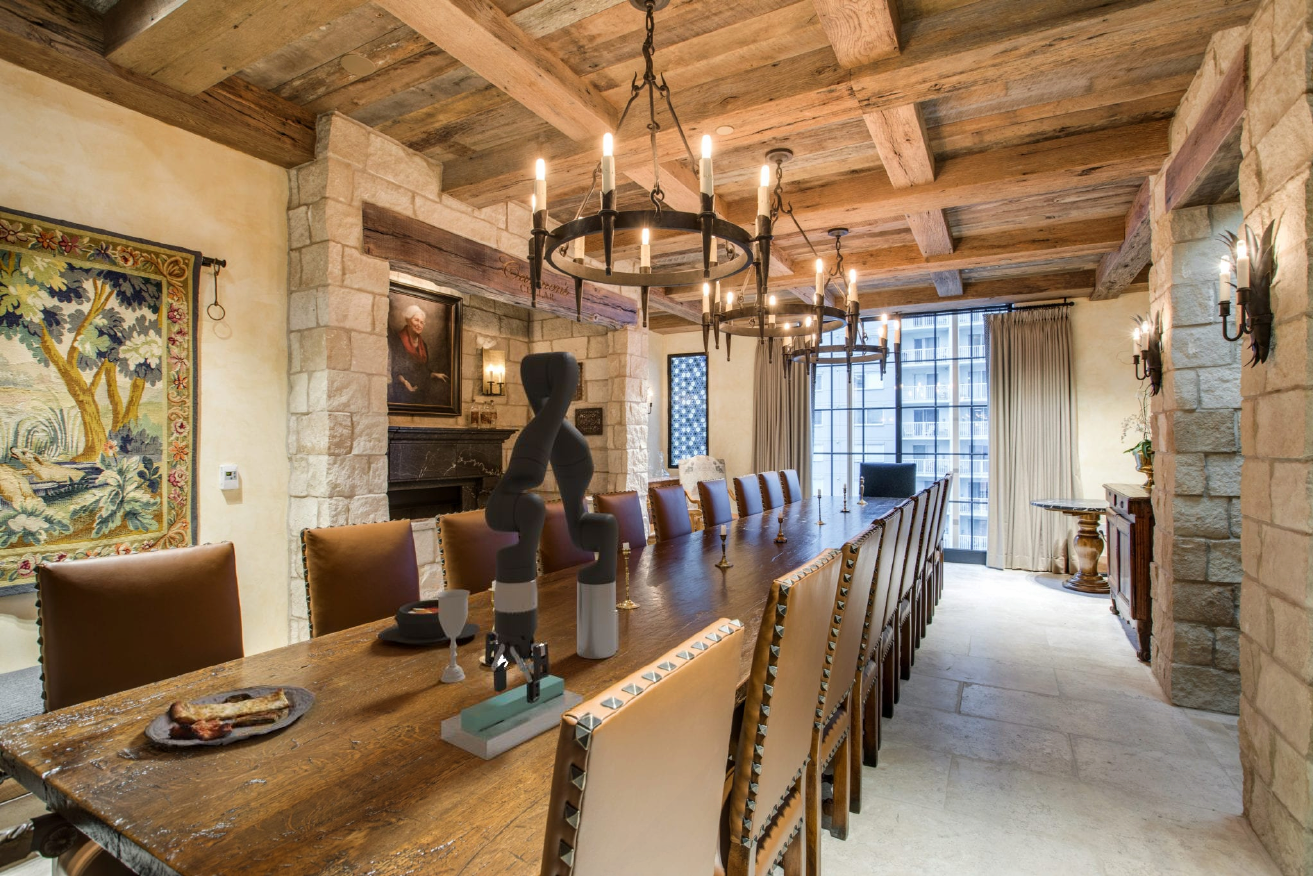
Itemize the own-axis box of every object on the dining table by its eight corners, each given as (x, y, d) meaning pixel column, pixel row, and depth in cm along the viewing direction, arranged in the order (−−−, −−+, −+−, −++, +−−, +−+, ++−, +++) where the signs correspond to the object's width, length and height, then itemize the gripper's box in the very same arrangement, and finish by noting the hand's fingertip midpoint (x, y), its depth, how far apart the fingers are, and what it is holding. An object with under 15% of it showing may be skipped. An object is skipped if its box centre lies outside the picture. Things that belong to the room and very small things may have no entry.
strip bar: (549, 702, 120) (549, 674, 120) (564, 707, 117) (564, 679, 117) (461, 742, 104) (461, 710, 104) (476, 749, 101) (476, 716, 101)
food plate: (126, 767, 96) (127, 744, 96) (162, 711, 117) (163, 692, 117) (311, 736, 107) (312, 716, 108) (314, 691, 128) (315, 673, 128)
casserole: (486, 627, 170) (486, 596, 170) (470, 649, 151) (470, 615, 151) (393, 629, 168) (393, 598, 168) (365, 652, 150) (365, 617, 150)
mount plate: (538, 696, 123) (538, 681, 123) (583, 712, 116) (583, 695, 116) (441, 739, 105) (441, 721, 105) (487, 760, 98) (487, 741, 98)
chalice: (458, 685, 128) (459, 598, 129) (429, 683, 130) (429, 596, 130) (476, 673, 136) (476, 590, 136) (447, 670, 137) (447, 588, 137)
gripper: (559, 606, 109) (559, 698, 109) (506, 594, 118) (506, 680, 118) (527, 616, 103) (527, 713, 103) (473, 603, 112) (473, 693, 112)
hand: (516, 696), depth 111 cm, fingers open, 8 cm apart
